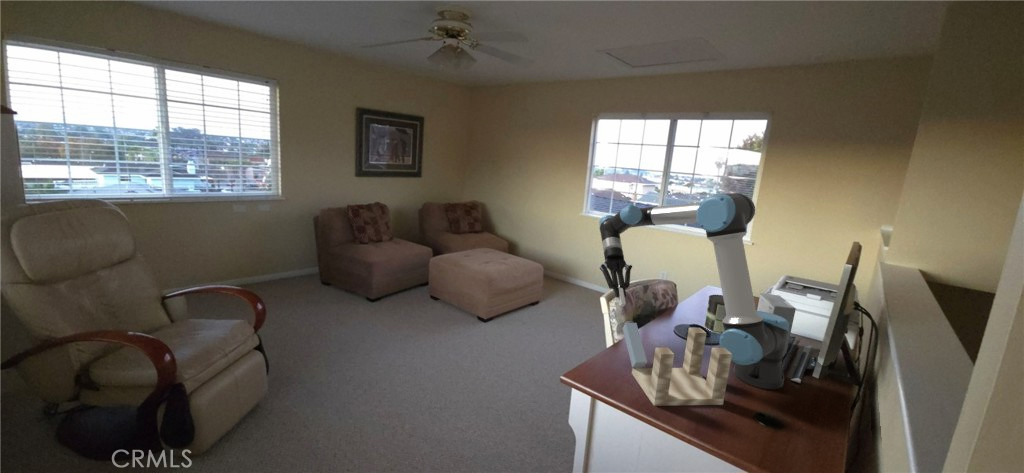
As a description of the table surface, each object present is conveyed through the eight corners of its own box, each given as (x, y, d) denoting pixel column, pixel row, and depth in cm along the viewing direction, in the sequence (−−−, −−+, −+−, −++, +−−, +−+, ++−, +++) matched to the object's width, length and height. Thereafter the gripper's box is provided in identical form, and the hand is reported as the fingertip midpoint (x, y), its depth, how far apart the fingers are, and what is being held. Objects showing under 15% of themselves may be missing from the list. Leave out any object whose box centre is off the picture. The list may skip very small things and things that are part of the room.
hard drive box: (786, 357, 161) (796, 308, 156) (764, 354, 162) (774, 306, 158) (770, 339, 176) (779, 294, 171) (750, 337, 177) (759, 292, 173)
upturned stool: (692, 372, 146) (700, 327, 143) (722, 404, 129) (732, 354, 125) (631, 373, 144) (637, 327, 140) (654, 405, 127) (661, 354, 123)
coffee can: (700, 328, 183) (705, 298, 180) (709, 322, 190) (714, 292, 187) (725, 336, 176) (731, 305, 173) (733, 329, 184) (738, 299, 180)
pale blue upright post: (643, 367, 144) (632, 326, 155) (647, 362, 141) (635, 320, 152) (632, 367, 144) (621, 326, 154) (635, 362, 141) (625, 320, 151)
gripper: (625, 255, 175) (635, 309, 162) (594, 254, 173) (602, 308, 161) (631, 246, 168) (642, 301, 156) (600, 245, 167) (608, 301, 155)
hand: (622, 305), depth 159 cm, fingers closed
